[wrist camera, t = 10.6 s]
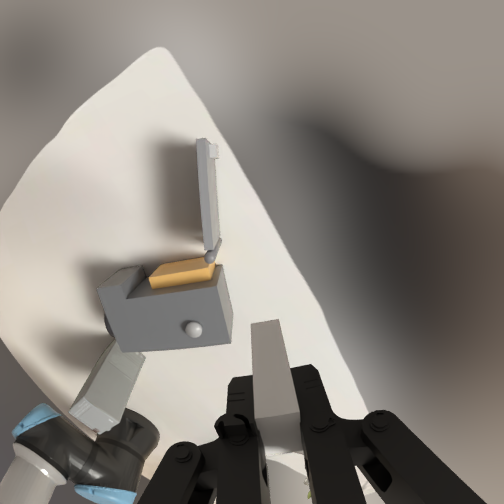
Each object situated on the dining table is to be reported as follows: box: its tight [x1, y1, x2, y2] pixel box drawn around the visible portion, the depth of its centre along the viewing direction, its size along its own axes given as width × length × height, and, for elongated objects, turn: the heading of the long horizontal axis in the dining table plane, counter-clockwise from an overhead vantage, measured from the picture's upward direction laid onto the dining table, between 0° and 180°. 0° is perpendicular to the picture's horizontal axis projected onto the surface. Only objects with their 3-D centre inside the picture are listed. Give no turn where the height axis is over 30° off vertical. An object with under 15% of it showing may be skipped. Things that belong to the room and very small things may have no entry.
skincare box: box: [68, 339, 145, 434], centre depth 35 cm, size 8×7×16 cm
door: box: [196, 138, 220, 250], centre depth 32 cm, size 12×2×8 cm, turn 3°
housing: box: [96, 237, 233, 353], centre depth 35 cm, size 18×12×9 cm, turn 100°
